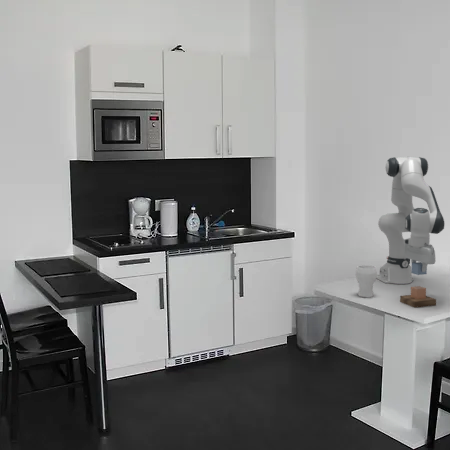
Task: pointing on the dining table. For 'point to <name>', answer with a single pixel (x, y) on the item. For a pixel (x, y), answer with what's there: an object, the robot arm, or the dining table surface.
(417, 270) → the blue block
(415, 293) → the terracotta block
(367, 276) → the cup
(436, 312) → the dining table surface
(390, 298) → the dining table surface
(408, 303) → the pedestal
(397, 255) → the robot arm
